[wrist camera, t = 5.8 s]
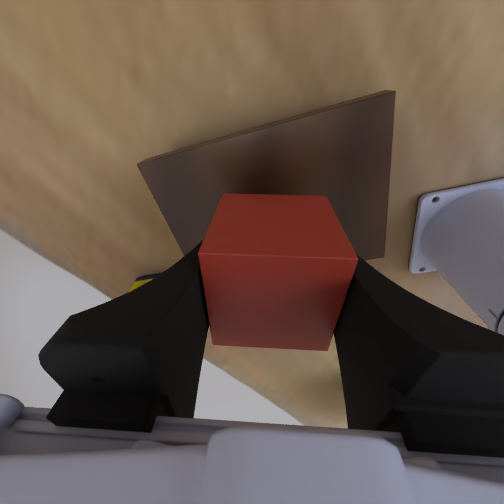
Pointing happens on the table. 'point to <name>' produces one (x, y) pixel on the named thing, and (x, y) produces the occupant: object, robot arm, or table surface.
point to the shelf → (287, 170)
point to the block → (275, 271)
